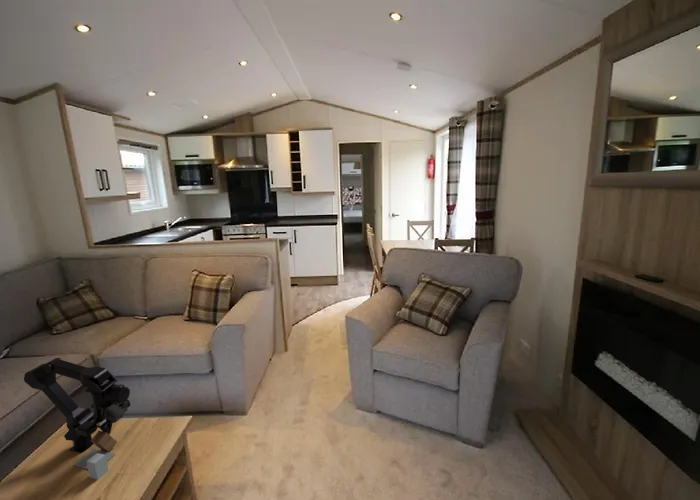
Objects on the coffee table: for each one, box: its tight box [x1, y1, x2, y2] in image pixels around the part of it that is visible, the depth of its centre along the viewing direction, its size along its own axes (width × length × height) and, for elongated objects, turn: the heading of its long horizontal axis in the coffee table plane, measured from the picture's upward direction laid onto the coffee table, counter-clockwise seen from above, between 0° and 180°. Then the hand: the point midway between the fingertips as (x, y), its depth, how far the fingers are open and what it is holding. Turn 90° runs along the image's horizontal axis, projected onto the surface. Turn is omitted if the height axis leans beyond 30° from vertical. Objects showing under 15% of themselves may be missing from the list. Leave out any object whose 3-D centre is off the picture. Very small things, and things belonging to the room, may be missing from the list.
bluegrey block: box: [86, 453, 109, 481], centre depth 124 cm, size 4×4×7 cm
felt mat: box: [73, 448, 116, 470], centre depth 131 cm, size 11×8×1 cm
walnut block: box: [91, 430, 118, 453], centre depth 134 cm, size 4×4×8 cm
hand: (108, 434), depth 136 cm, fingers closed
